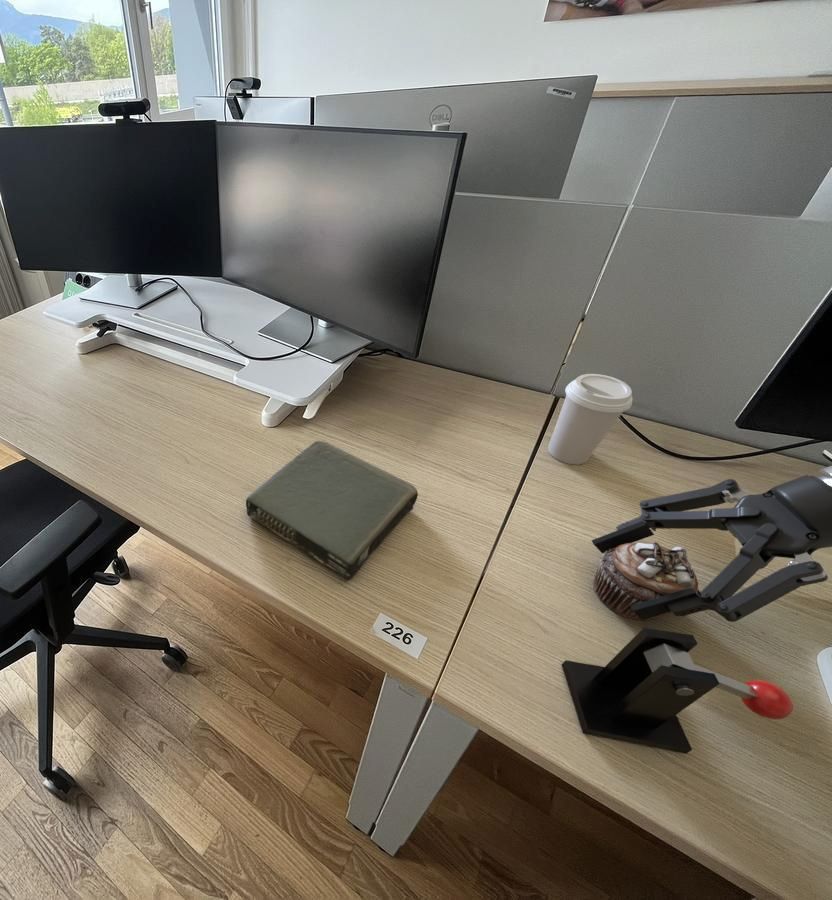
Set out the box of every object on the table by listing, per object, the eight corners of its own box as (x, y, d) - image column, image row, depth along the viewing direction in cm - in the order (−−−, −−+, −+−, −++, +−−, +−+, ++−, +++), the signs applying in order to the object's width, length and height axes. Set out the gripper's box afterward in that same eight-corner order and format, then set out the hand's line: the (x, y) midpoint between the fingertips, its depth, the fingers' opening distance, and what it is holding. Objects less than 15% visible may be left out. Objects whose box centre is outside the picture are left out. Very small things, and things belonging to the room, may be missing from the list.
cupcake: (651, 572, 67) (690, 527, 61) (683, 634, 60) (731, 590, 54) (576, 561, 69) (607, 517, 63) (598, 620, 62) (635, 577, 56)
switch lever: (752, 693, 50) (788, 681, 48) (773, 728, 47) (813, 718, 45) (634, 647, 50) (665, 634, 47) (649, 681, 47) (683, 668, 45)
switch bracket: (653, 680, 56) (717, 625, 48) (686, 754, 50) (766, 706, 42) (561, 664, 58) (607, 609, 50) (582, 733, 52) (639, 684, 44)
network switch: (236, 526, 79) (234, 506, 76) (305, 451, 93) (305, 431, 90) (363, 594, 68) (367, 573, 64) (420, 497, 81) (426, 476, 78)
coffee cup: (528, 440, 91) (557, 374, 81) (574, 434, 91) (609, 368, 82) (559, 473, 84) (596, 405, 74) (610, 466, 84) (653, 398, 74)
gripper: (958, 610, 43) (676, 671, 55) (774, 454, 60) (589, 527, 72) (942, 573, 40) (650, 646, 53) (754, 421, 57) (566, 503, 70)
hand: (615, 577), depth 62 cm, fingers closed on cupcake, 10 cm apart
